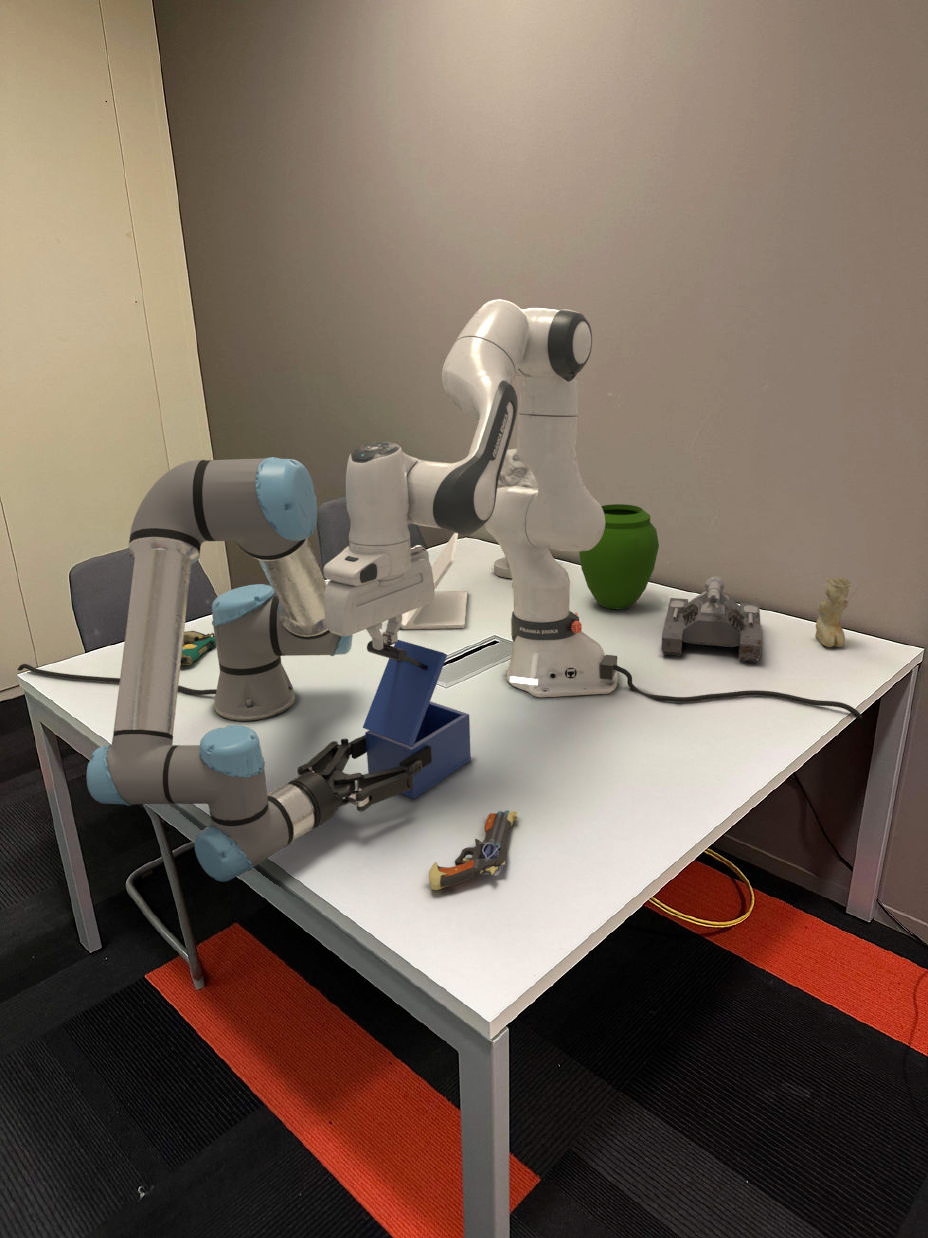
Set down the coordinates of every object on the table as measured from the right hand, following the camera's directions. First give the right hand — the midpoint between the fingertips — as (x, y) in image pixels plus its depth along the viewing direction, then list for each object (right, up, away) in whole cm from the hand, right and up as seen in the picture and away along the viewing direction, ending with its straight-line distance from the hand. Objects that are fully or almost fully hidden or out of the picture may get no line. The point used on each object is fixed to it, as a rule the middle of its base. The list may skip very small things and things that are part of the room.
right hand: (385, 645), depth 129 cm
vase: (+50, +8, +86) cm, 99 cm away
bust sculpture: (+29, +16, +110) cm, 115 cm away
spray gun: (-51, -4, +63) cm, 81 cm away
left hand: (+2, -16, +9) cm, 18 cm away
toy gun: (+13, -29, -9) cm, 33 cm away
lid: (+3, -8, +6) cm, 10 cm away
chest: (+5, -21, +13) cm, 25 cm away
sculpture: (+92, -1, +58) cm, 109 cm away
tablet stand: (+3, +6, +85) cm, 86 cm away
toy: (+67, -1, +62) cm, 91 cm away
